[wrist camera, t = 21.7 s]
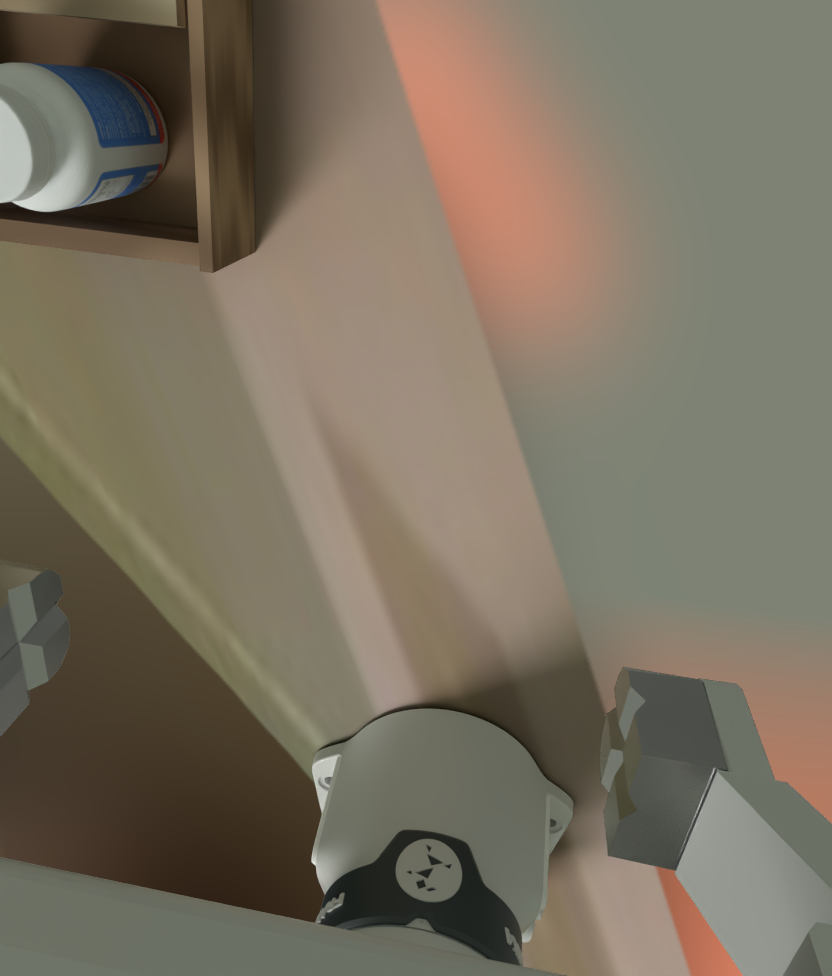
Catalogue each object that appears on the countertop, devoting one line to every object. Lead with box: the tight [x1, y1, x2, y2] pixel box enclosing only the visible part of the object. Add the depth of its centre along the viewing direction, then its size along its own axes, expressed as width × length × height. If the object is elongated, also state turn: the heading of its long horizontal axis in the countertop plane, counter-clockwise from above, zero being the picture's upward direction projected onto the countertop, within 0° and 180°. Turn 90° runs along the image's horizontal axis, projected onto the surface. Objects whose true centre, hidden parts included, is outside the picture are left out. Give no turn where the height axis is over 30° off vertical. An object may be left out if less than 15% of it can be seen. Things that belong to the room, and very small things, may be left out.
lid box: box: [0, 0, 255, 273], centre depth 32 cm, size 13×13×6 cm
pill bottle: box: [0, 63, 168, 212], centre depth 31 cm, size 6×5×10 cm
